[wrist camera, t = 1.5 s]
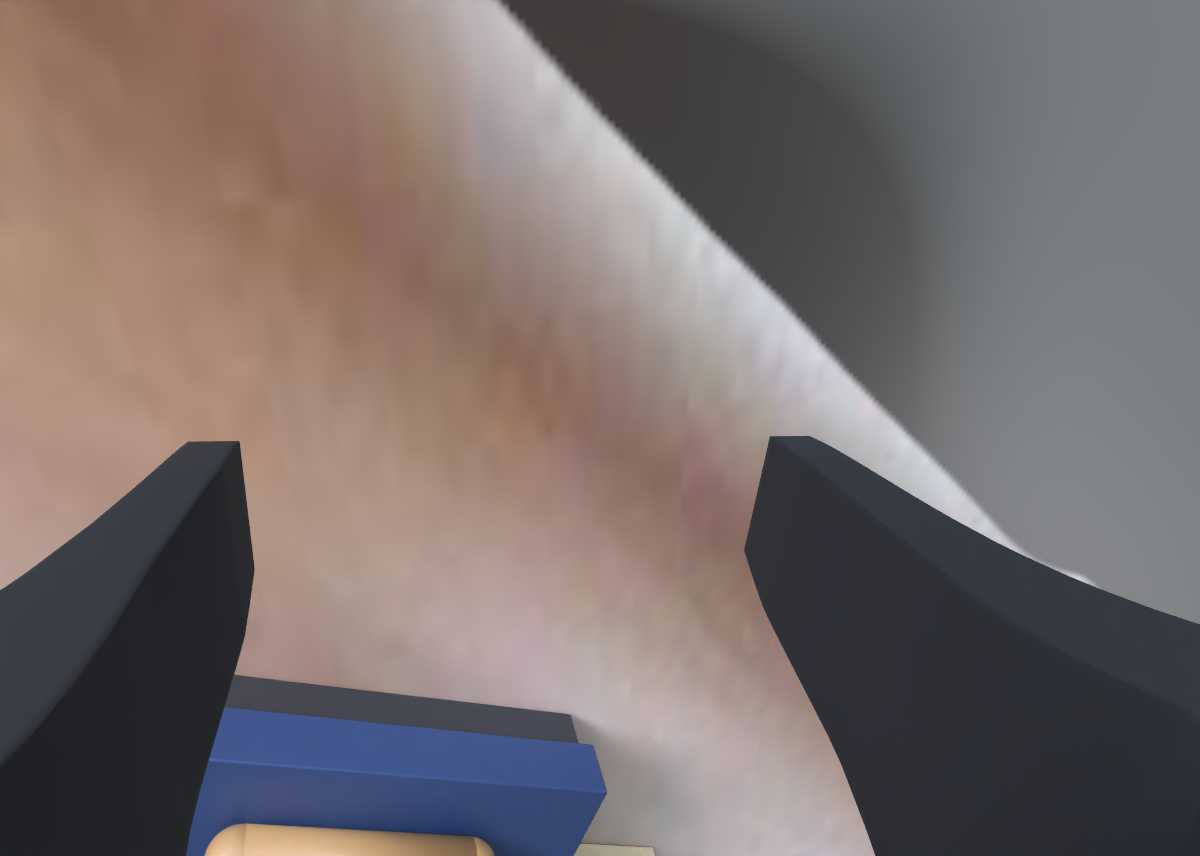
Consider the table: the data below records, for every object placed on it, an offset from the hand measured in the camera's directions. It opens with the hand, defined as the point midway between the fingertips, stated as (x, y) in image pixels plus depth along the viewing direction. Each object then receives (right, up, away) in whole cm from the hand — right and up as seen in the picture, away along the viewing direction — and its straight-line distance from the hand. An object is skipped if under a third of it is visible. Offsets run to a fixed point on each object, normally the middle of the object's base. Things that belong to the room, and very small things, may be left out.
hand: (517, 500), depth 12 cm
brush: (-6, -9, +14) cm, 18 cm away
